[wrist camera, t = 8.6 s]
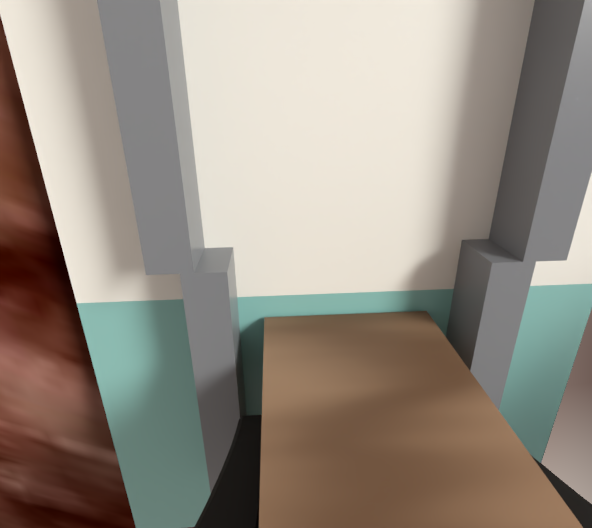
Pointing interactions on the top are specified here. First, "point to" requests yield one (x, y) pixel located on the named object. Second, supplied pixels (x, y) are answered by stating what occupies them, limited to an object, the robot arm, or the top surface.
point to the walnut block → (388, 432)
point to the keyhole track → (307, 198)
